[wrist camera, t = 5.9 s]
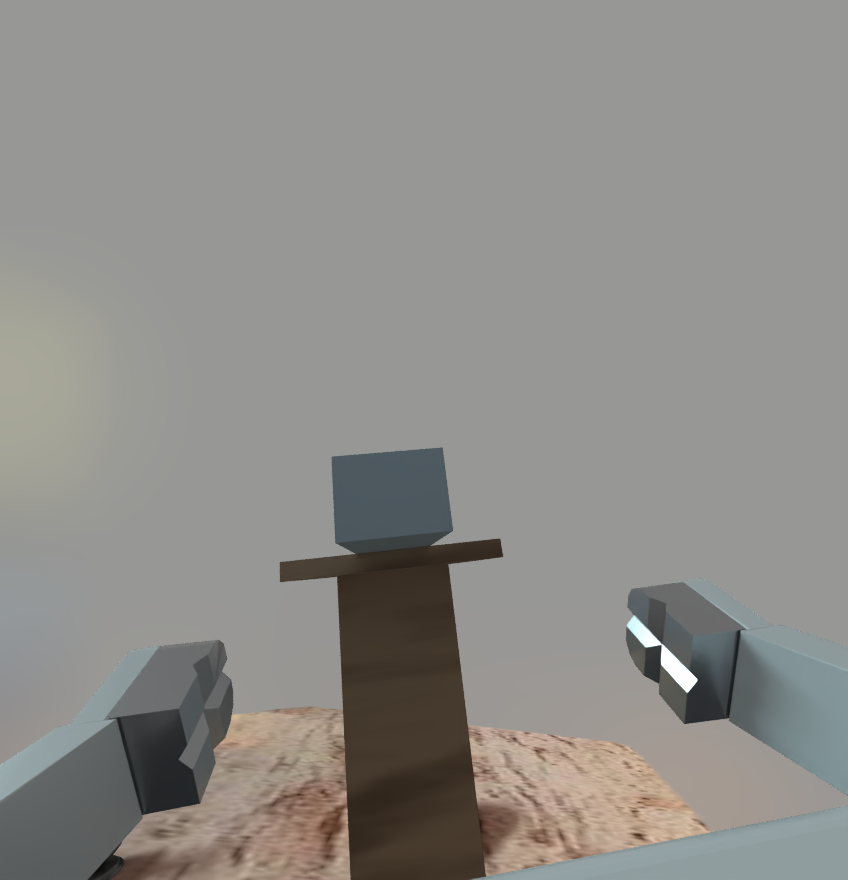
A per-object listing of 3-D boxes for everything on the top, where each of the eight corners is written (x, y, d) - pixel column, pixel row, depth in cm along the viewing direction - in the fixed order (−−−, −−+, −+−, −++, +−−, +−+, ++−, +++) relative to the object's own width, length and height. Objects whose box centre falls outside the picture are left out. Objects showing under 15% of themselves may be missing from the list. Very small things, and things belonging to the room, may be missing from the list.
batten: (452, 530, 14) (442, 447, 15) (335, 542, 14) (331, 456, 15) (414, 556, 37) (411, 522, 38) (369, 560, 37) (367, 526, 38)
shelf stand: (635, 1232, 16) (517, 536, 23) (255, 1345, 14) (260, 564, 22) (511, 899, 32) (465, 551, 40) (326, 936, 31) (315, 567, 38)
